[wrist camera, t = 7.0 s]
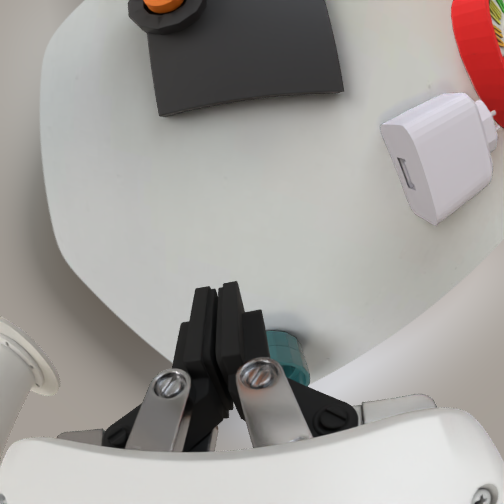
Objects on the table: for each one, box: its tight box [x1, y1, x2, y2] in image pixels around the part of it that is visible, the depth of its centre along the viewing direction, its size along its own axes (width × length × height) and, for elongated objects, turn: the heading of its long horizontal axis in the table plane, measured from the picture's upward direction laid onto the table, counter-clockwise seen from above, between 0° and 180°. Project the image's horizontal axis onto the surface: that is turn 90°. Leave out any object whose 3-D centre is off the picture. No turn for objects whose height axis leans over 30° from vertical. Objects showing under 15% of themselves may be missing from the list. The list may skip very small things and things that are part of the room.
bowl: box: [266, 330, 310, 387], centre depth 27 cm, size 7×7×5 cm
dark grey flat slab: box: [128, 0, 344, 117], centre depth 15 cm, size 15×12×3 cm
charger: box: [380, 93, 500, 226], centre depth 18 cm, size 5×9×15 cm
